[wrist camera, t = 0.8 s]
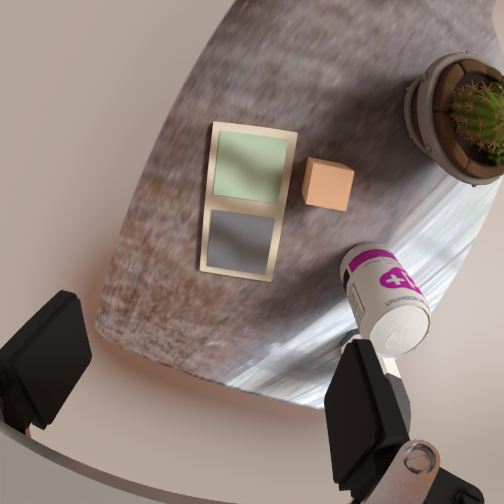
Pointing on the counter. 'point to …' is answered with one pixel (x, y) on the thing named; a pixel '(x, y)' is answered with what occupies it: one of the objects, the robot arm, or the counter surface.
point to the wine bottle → (391, 375)
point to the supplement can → (384, 300)
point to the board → (245, 199)
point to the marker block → (327, 184)
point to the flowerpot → (459, 117)
